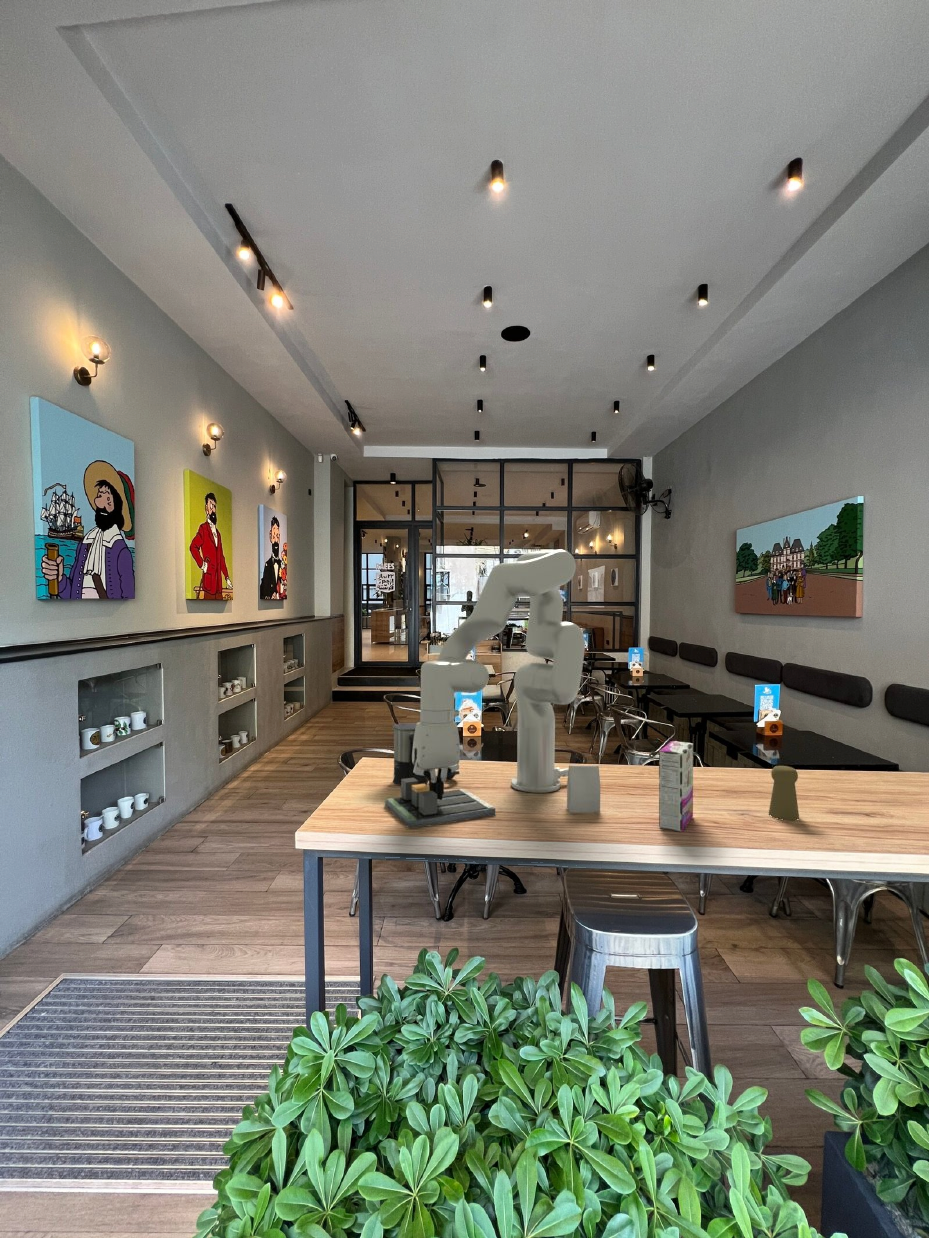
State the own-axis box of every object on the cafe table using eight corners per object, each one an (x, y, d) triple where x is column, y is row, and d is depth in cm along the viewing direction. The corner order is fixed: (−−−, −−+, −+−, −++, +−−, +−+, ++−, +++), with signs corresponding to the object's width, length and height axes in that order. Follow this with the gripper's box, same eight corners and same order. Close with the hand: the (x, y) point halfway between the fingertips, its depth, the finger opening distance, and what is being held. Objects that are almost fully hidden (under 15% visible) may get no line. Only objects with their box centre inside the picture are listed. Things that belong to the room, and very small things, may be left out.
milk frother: (385, 781, 158) (385, 725, 158) (432, 771, 169) (433, 718, 169) (418, 794, 148) (418, 733, 147) (466, 782, 158) (466, 726, 158)
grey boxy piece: (600, 812, 135) (600, 768, 135) (570, 812, 135) (570, 768, 135) (596, 807, 139) (596, 763, 139) (566, 807, 139) (567, 763, 139)
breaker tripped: (424, 801, 136) (424, 783, 136) (429, 805, 133) (429, 787, 133) (411, 803, 134) (411, 785, 134) (416, 807, 132) (416, 788, 132)
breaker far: (413, 794, 140) (413, 777, 140) (418, 798, 138) (418, 780, 138) (401, 796, 139) (401, 779, 139) (405, 800, 136) (405, 782, 136)
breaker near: (431, 808, 130) (431, 790, 130) (437, 813, 128) (437, 794, 128) (418, 810, 129) (418, 792, 129) (424, 815, 126) (424, 796, 126)
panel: (463, 794, 147) (463, 787, 147) (495, 815, 133) (495, 807, 133) (385, 805, 138) (385, 798, 138) (409, 828, 124) (409, 820, 124)
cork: (787, 822, 130) (788, 771, 130) (762, 814, 135) (763, 765, 135) (805, 818, 132) (806, 768, 132) (779, 810, 138) (780, 762, 138)
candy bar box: (670, 813, 135) (671, 740, 135) (693, 817, 133) (694, 742, 132) (657, 828, 126) (658, 749, 125) (682, 833, 123) (683, 752, 123)
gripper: (460, 712, 142) (459, 789, 142) (399, 716, 135) (398, 797, 135) (474, 717, 135) (473, 799, 135) (411, 721, 128) (410, 807, 129)
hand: (436, 798), depth 135 cm, fingers closed
